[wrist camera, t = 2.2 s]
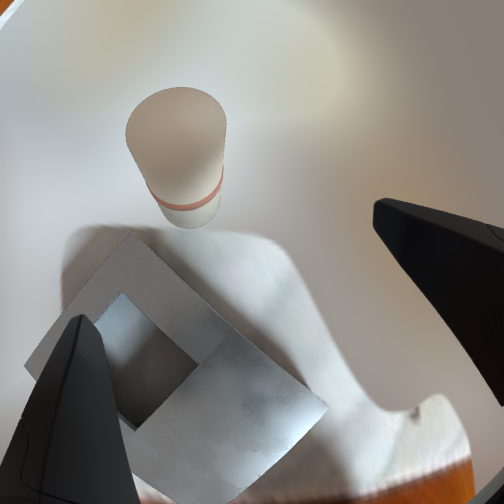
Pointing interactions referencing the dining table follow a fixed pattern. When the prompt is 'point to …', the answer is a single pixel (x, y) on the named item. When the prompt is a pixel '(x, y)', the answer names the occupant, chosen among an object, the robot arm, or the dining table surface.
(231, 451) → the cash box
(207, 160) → the coin roll
